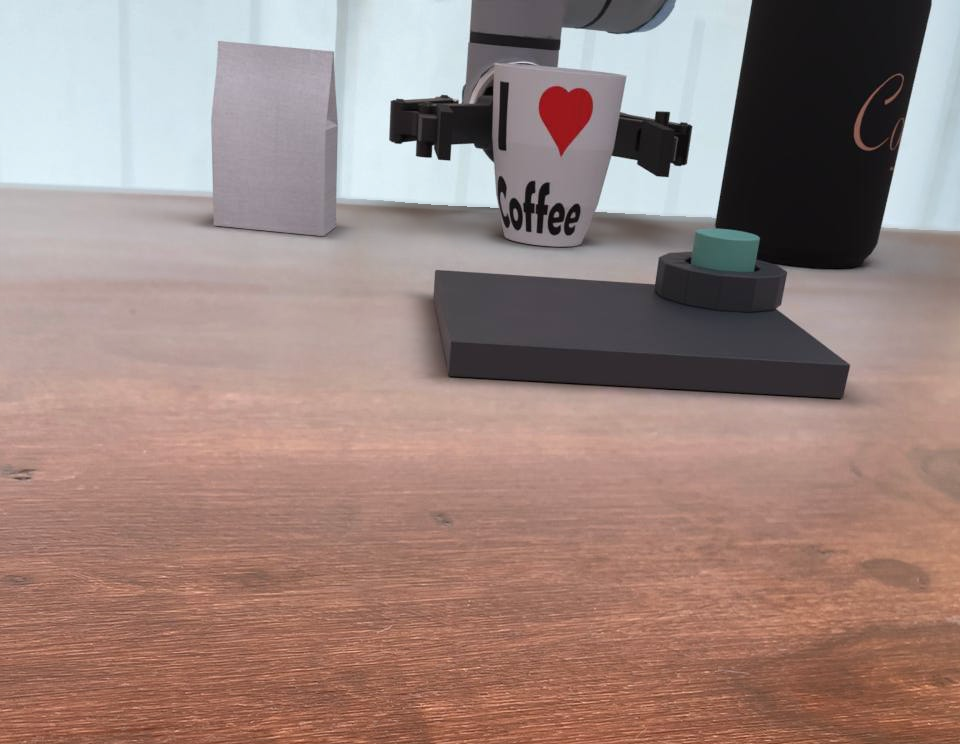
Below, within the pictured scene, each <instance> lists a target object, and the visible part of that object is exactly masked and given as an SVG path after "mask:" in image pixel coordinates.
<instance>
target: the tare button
mask: <svg viewBox="0 0 960 744" xmlns="http://www.w3.org/2000/svg"><path fill="white" fill-rule="evenodd" d="M759 241H760V238H759V236H757V235H754V234H751V233H747V232H742V231H736V230H728V229H716V228H715V227H714V228H713V227H709V228H708V227H705V228H698V229H697V230H695V234H694V239H693V246H692V251H691V252H692V258H691V264H692V265H695V266H699V267H702V268H709V269H715V270H721V271H735V272H754V268H755V263H756V257H757V252H758V246H759Z"/></svg>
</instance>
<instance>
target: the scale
mask: <svg viewBox="0 0 960 744" xmlns="http://www.w3.org/2000/svg"><path fill="white" fill-rule="evenodd" d="M692 252H693V251H680V252H679V251H678V252H677V251H676V252H668V253H666V254H663V255H660V256H659V257H658V261H657V268H656V273H655V274H656V275H655V282H654V283H641V282H629V281H628V282H627V281H613V280H612V281H611V280H598V279H597V280H596V279H581V278H579V279H578V278H568V277H567V278H566V277H552V276H535V275H521V274H505V273H491V272H474V271H459V270H446V269H445V270H444V269H435V270H434V282H433V302H434V309H435V314H436V318H437V323H438V328H439V333H440V338H441V343H442V348H443V353H444V358H445V364H446V368H447V375H448V376H449V377H455V378H456V377H459V378H473V379H474V378H475V379H476V378H477V379H491V380H492V379H493V380H508V381H509V380H511V381H531V382H543V383H544V382H546V383H562V384H563V383H564V384H565V383H566V384H580V385H597V386H598V385H600V386H617V387H618V386H619V387H633V388H635V387H636V388H652V389H666V390H667V389H670V390H687V391H688V390H689V391H705V392H719V393H720V392H721V393H741V394H756V395H757V394H758V395H772V396H773V395H774V396H775V395H776V396H794V397H809V398H827V399H828V398H829V399H843V398H844V395H845V391H846V386H847V382H848V377H849V373H850V369H851V364H850V363H849V362H847V361H846V360H845V359H844V358H842V357H841V356H839V355H838V354H837V353H835V352H834V351H832V350H831V349H830V348H828V346H826V345H825V344H823V343H822V342H821V341H819V340H818V339H817V338H815V337H814V336H813V335H812V334H810V333H809V332H808V331H806V330H805V329H803V328H802V326H800V325H798V323H795V321H793V320H792V319H790V318H789V317H788V316H786V315H785V314H784V313H782V312H781V311H780V310H778V308H779V307H780V306H782V303H783V297H784V292H785V291H784V290H785V287H786V281H787V276H788V271H787V270H786V269H784V268H783V267H780V265H777V264H776V263H772V262H766V261H761V260H757V259H756V263H755V268H754V272H735V271H721V270H715V269H709V268H702V267H699V266H695V265H692V264H691V258H692Z"/></svg>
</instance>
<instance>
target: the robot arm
mask: <svg viewBox="0 0 960 744" xmlns="http://www.w3.org/2000/svg"><path fill="white" fill-rule="evenodd" d="M676 2H677V0H471V7H470V21H469V40H468V43H467V56H466V58H467V59H466V72H465V84H464V85H463V86H462V88H461V89H462V90H461V103H460V100H459V99H458V98H453V97H451V96H449V95H448V94H440V96H435V97H430V98H415V99H414V98H413V99H403V98H395V99H392V100H390V106H389V107H390V109H389V112H390V113H389V132H388V140H389V142H390V143H394V144H395V145H402V144H404V143H409V142H415V157H418V158H425V159H426V158H428V159H429V158H430V159H432V158H433V150H434V153H435V155H436V158H437V160H438V161H448V162H450V161H451V158H452V146H453V145H454V146H455V145H473V146H474V148H475V149H478V150H479V149H480V150H482V151H483V152H484V154H485V155H486V157H487V158H488V159H489V160H490V161H491V162H492V163H493V164H494V155H493V140H492V127H493V88H494V63H506V64H522V65H536V66H547V67H559V57H560V50H561V43H562V40H561V39H562V31H563V29H576V30H579V29H580V30H586V31H587V30H588V31H598V32H606V33H607V34H613V35H629V34H633V33H645V32H649V31H652V30H654V29H656V28H657V27H659V26H660V25H662V24H663V23H664V22H665V21H666V20H667V19H668V18H669V16H670V15H671V13H672V12H673V11H674V9H675V6H676ZM670 118H671V111H668V110H667V111H664V110H661V111H659V110H655V114H654V118H653V117H652V118H650V117H646V116H641V115H640V116H639V115H634V114H629V113H626V112H622V111H620V116H619V121H618V127H617V132H616V138H615V143H614V149H613V152H612V156H611V157H616V158H622V159H627V160H633V161H636V165H637V166H639V167H641V168H642V169H644V170H646V171H648V172H649V173H651V174H652V175H654V176H655V177H657V178H658V177H659V178H669V177H670V170H671V164H672V165H673V166H675V167H682V166H687V165H688V161H689V153H690V147H691V141H692V140H691V139H692V132H693V125H692V124H689V123H688V122H683V121H680V122H674V121H670Z"/></svg>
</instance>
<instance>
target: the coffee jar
mask: <svg viewBox="0 0 960 744" xmlns="http://www.w3.org/2000/svg"><path fill="white" fill-rule="evenodd" d="M932 5H933V0H751V5H750V10H749V16H748V22H747V29H746V35H745V40H744V47H743V52H742V59H741V66H740V70H739V77H738V84H737V89H736V97H735V102H734V108H733V113H732V120H731V125H730V131H729V138H728V145H727V150H726V155H725V162H724V169H723V175H722V179H721V180H722V181H721V185H720V193H719V199H718V205H717V211H716V215H715V222H714V228H716V229H728V230H736V231H742V232H747V233H751V234H754V235H757V236H759V238H760V241H759V246H758V252H757V257H756V259H757V260H761V261H764V262H768V263H772V264H779V265H785V266H795V267H805V268H814V269H815V268H816V269H848V268H855V267H859V266H862V264H863V263H864V261H865V260H866V259H867V258H868V257H869V256H870V255H872V253H873V252H874V250H875V249H876V247H877V245H878V244H879V238H880V235H881V229H882V226H883V221H884V217H885V211H886V208H887V203H888V198H889V194H890V190H891V186H892V182H893V176H894V173H895V168H896V163H897V160H898V155H899V151H900V146H901V142H902V137H903V132H904V129H905V124H906V120H907V115H908V111H909V108H910V107H909V106H910V103H911V98H912V94H913V88H914V85H915V81H916V75H917V70H918V67H919V63H920V58H921V54H922V50H923V45H924V40H925V36H926V31H927V28H928V24H929V19H930V15H931V9H932Z"/></svg>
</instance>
